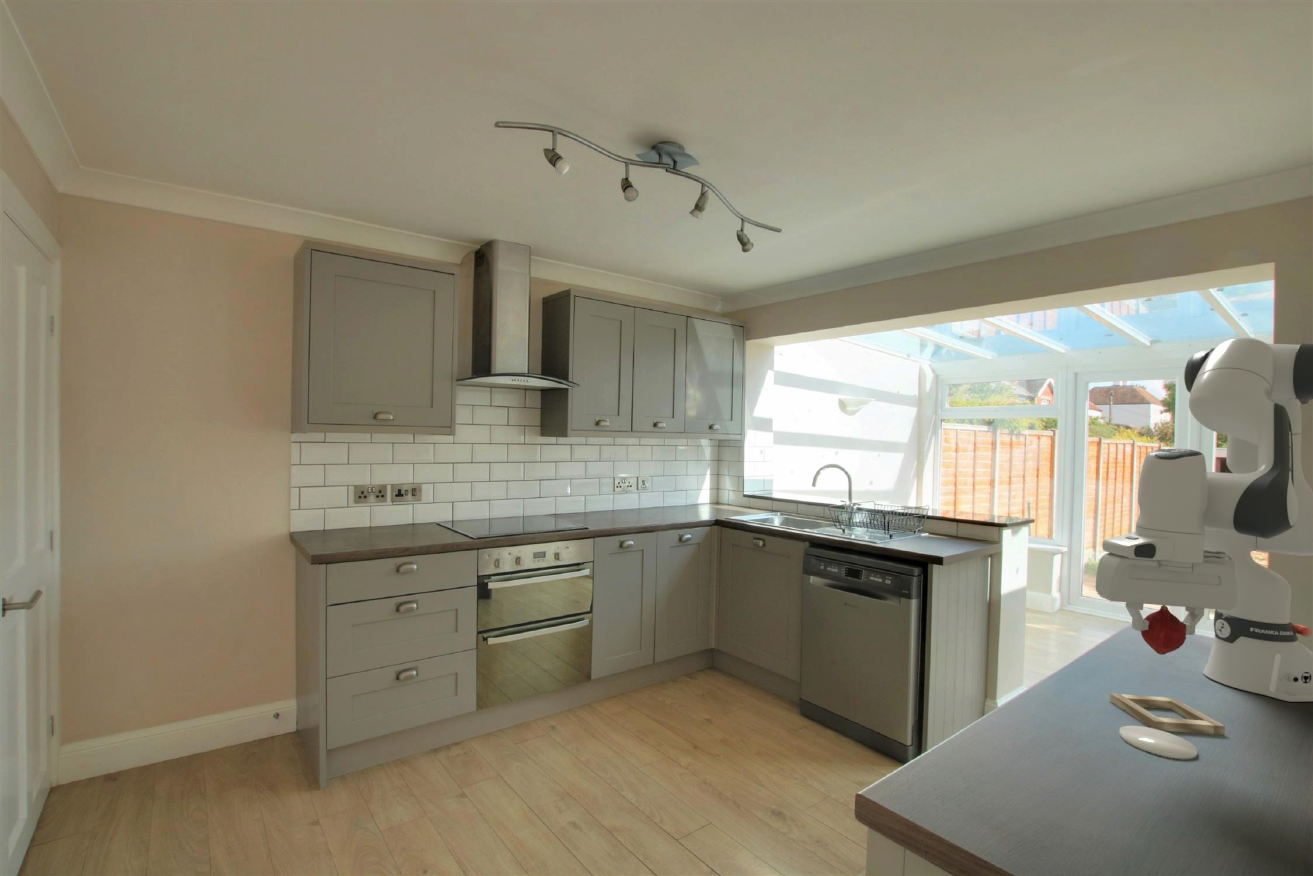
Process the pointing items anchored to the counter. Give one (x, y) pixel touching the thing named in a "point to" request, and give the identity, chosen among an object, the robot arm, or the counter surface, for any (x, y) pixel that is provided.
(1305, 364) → the robot arm
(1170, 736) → the white domed disc
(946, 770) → the counter surface
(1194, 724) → the frame
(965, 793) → the counter surface
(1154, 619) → the onion
